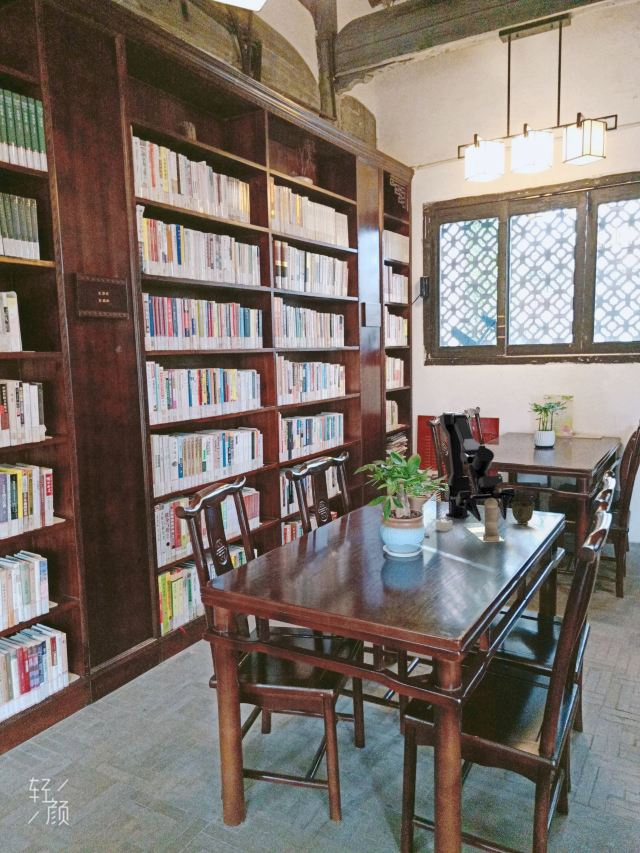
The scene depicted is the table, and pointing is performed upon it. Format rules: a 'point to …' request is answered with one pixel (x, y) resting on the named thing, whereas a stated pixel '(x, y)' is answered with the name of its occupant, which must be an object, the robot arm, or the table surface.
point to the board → (478, 530)
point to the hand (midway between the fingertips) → (492, 520)
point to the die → (444, 525)
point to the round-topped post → (491, 520)
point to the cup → (522, 512)
